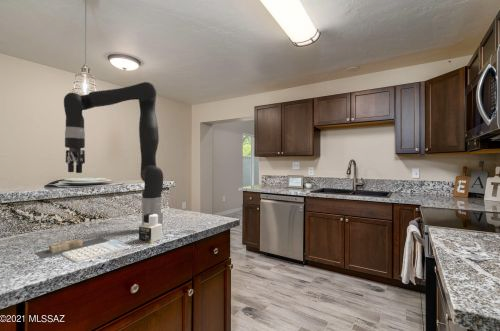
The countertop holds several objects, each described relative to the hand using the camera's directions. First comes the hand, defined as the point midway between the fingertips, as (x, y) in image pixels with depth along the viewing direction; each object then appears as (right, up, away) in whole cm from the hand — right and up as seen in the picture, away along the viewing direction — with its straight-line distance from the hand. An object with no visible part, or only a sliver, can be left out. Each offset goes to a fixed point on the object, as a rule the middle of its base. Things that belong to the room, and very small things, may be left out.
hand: (74, 172), depth 115 cm
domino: (+11, -29, -12) cm, 33 cm away
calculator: (+21, -32, -17) cm, 42 cm away
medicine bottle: (+36, -31, -2) cm, 48 cm away
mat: (+10, -31, -14) cm, 35 cm away
